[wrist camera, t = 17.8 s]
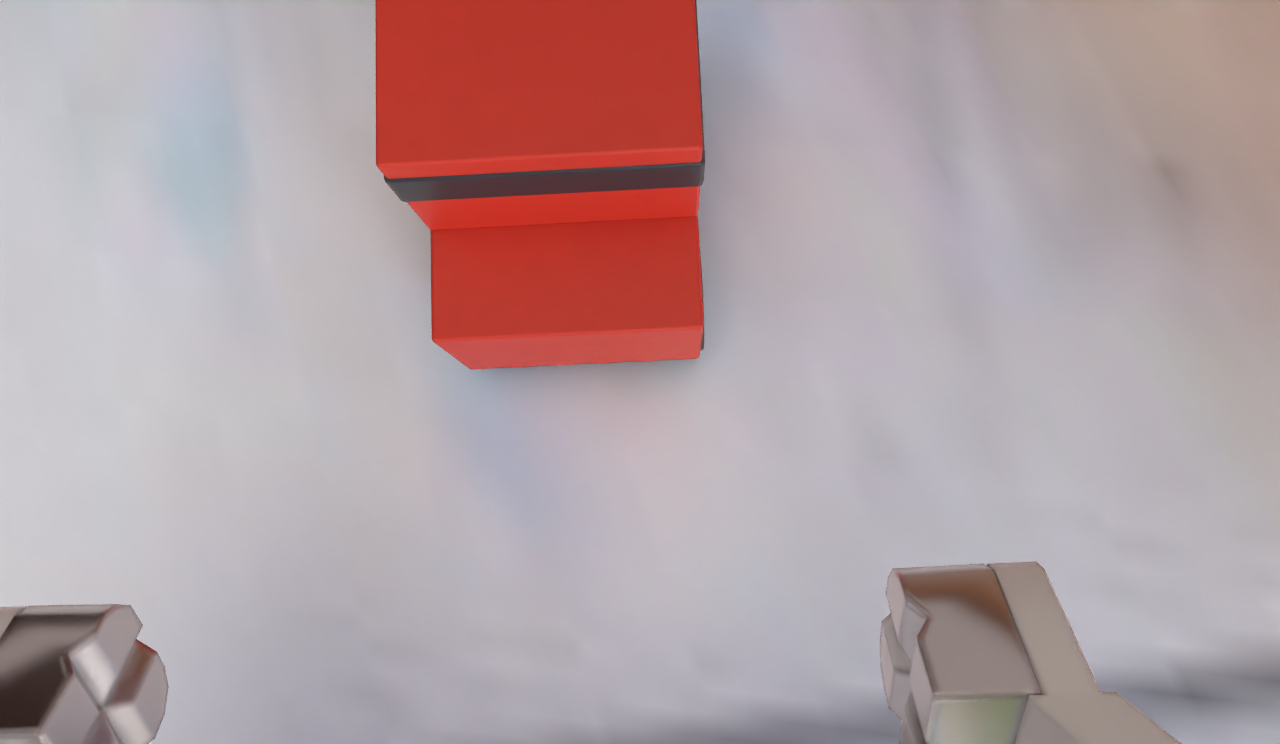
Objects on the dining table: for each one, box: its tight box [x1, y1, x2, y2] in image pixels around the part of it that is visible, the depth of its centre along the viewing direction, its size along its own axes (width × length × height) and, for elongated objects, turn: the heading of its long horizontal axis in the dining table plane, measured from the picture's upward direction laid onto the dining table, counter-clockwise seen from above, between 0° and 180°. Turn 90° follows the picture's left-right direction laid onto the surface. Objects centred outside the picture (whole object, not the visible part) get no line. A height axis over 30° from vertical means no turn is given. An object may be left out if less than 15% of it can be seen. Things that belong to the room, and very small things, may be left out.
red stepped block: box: [376, 0, 705, 369], centre depth 19 cm, size 8×5×8 cm, turn 2°
